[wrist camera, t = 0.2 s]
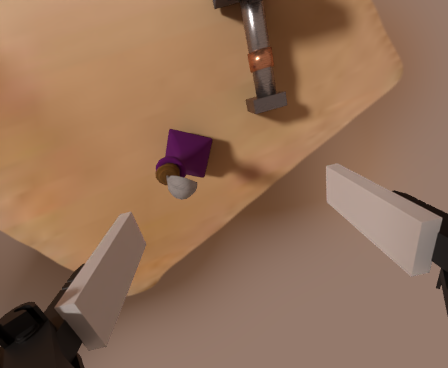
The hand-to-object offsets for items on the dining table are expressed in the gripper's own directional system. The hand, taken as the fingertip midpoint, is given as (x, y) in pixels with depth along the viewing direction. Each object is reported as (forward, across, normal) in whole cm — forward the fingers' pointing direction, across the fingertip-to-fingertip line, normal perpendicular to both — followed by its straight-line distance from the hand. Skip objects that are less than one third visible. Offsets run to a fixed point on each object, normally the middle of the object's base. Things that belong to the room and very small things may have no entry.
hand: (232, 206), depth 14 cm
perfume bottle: (+28, -5, -2) cm, 29 cm away
